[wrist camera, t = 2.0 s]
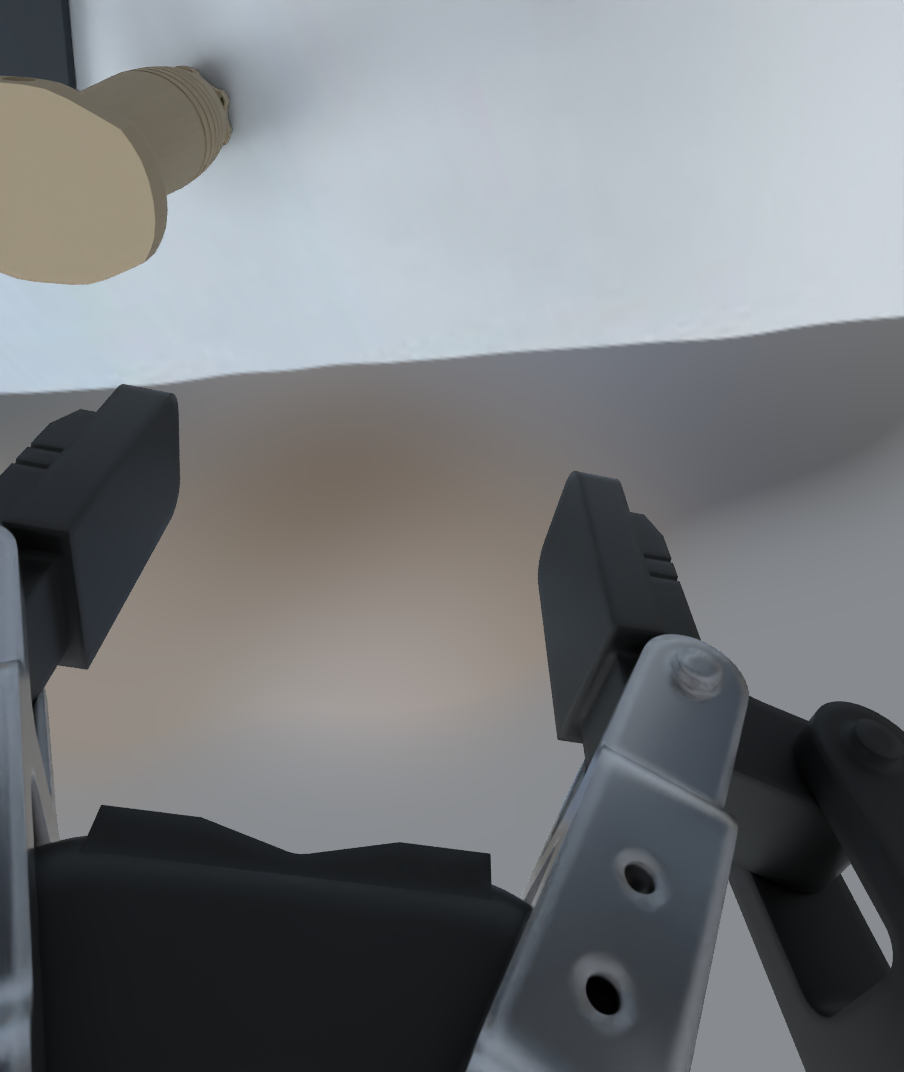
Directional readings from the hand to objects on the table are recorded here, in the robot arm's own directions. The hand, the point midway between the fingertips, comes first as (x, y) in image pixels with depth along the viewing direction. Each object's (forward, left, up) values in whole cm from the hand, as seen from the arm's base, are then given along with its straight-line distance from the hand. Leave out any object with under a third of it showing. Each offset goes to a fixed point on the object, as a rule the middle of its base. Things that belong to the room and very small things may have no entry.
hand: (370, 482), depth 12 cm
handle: (+7, -7, -26) cm, 28 cm away
